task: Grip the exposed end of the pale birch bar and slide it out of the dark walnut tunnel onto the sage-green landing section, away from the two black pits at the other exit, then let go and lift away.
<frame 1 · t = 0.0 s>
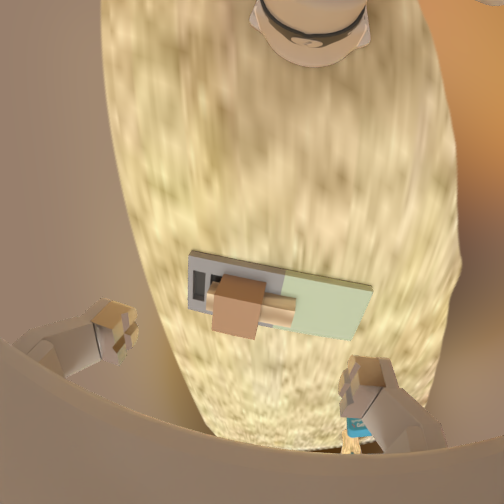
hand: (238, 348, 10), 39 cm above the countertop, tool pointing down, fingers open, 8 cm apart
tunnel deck: (276, 296, 56), on the countertop
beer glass: (350, 431, 78), on the countertop
data package: (367, 396, 68), on the countertop
birch bar: (252, 298, 55), point 2 cm above the countertop, touching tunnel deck
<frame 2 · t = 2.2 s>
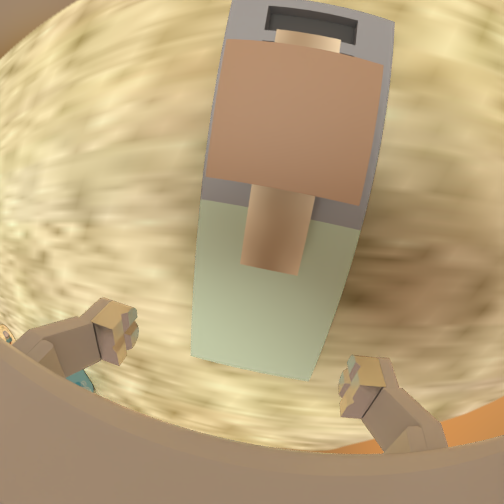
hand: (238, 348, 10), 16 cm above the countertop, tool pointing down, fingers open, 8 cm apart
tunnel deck: (283, 202, 24), on the countertop
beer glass: (9, 335, 42), on the countertop
birch bar: (292, 149, 20), point 2 cm above the countertop, touching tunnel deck
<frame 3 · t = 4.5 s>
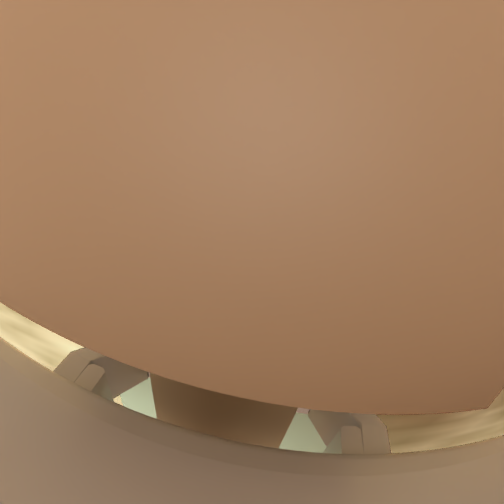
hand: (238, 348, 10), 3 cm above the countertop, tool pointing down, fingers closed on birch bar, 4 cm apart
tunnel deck: (257, 265, 12), on the countertop
birch bar: (272, 157, 8), point 2 cm above the countertop, touching gripper, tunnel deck
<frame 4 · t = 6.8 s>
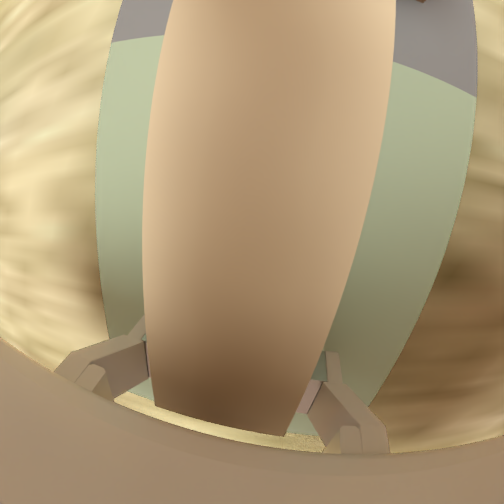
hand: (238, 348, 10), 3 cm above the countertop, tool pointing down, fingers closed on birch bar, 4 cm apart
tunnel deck: (295, 44, 8), on the countertop
birch bar: (277, 128, 8), point 2 cm above the countertop, touching gripper, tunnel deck
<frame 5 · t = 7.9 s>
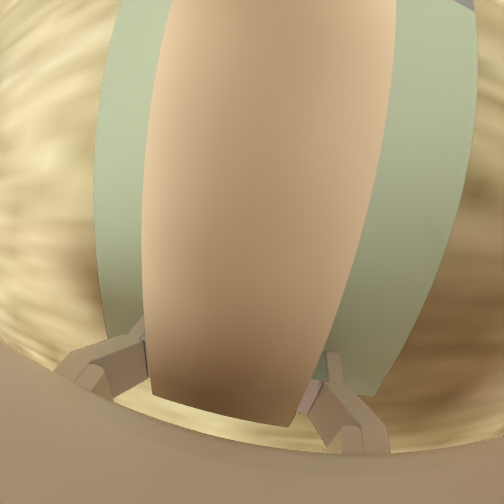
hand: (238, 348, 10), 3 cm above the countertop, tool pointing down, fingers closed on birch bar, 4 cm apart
birch bar: (280, 108, 8), point 2 cm above the countertop, touching gripper, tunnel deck
when the fingers open (3 cm above the countertop, at t = 8.9 s): birch bar stays where it is, resting on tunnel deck.
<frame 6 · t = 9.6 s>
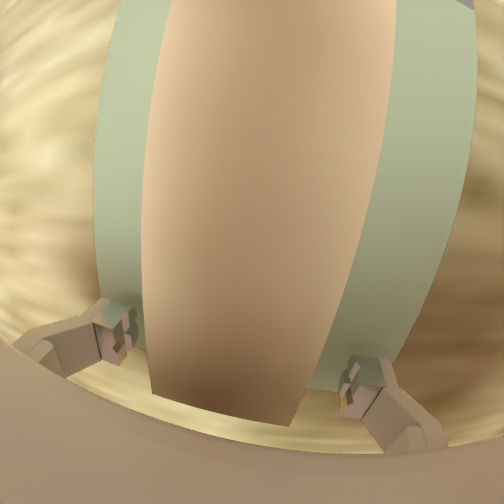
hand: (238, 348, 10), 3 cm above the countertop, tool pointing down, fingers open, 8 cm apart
birch bar: (281, 106, 8), point 2 cm above the countertop, touching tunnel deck
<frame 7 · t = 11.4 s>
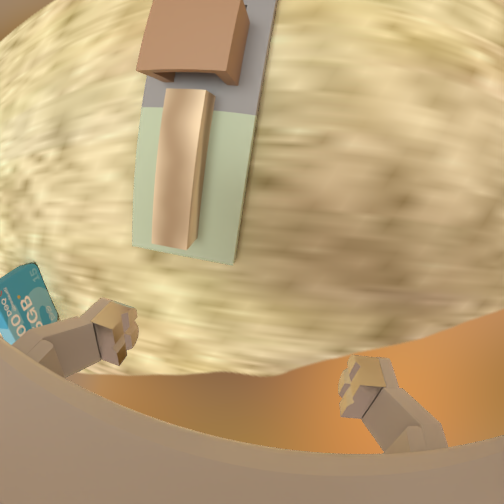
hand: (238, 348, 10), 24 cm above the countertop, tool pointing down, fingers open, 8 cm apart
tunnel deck: (200, 106, 29), on the countertop
data package: (41, 290, 42), on the countertop
birch bar: (187, 166, 30), point 2 cm above the countertop, touching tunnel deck
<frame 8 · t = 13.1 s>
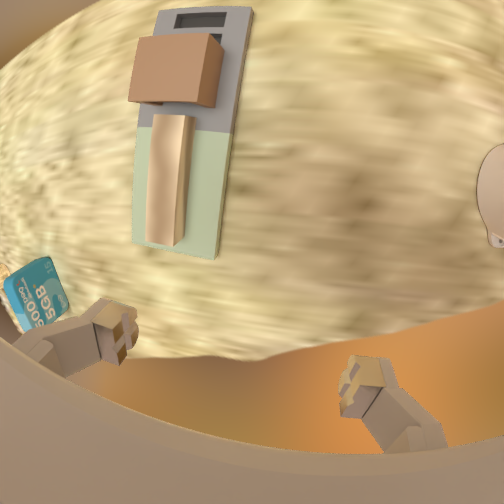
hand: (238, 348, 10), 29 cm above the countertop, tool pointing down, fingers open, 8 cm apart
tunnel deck: (186, 125, 35), on the countertop
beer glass: (6, 273, 53), on the countertop
data package: (54, 281, 50), on the countertop
birch bar: (175, 176, 36), point 2 cm above the countertop, touching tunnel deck
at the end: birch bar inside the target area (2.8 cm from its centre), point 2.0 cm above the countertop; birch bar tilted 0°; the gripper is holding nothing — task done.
